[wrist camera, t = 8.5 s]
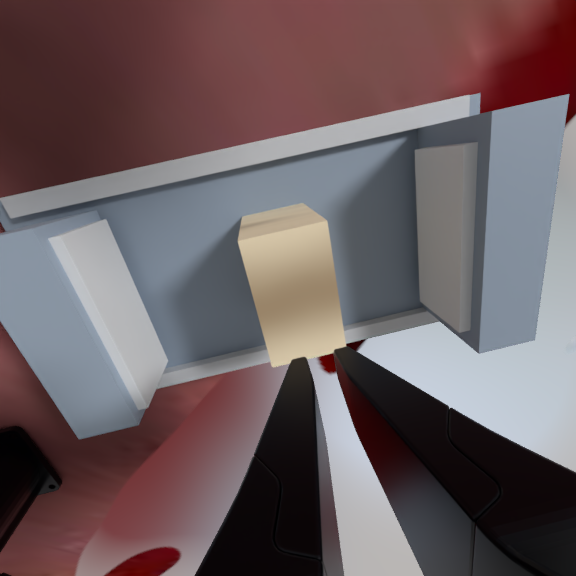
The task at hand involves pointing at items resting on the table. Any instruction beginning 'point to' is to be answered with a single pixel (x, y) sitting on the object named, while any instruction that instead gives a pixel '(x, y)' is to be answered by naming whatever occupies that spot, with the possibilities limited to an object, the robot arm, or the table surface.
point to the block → (292, 282)
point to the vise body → (340, 227)
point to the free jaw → (80, 321)
